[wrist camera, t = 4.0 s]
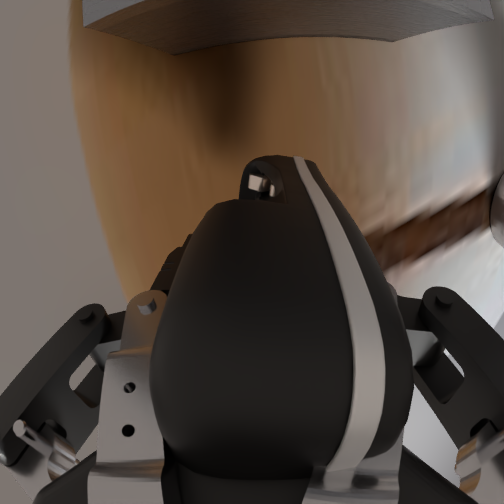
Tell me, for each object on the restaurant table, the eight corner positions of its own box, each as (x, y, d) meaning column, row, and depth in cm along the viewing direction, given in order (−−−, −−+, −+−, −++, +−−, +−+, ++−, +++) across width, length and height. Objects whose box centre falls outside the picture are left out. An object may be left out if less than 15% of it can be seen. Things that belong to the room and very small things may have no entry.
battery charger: (230, 141, 12) (72, 397, 2) (317, 154, 12) (463, 418, 2) (219, 272, 15) (170, 496, 5) (288, 281, 15) (298, 507, 6)
